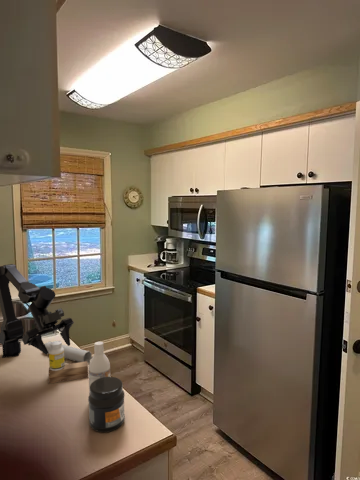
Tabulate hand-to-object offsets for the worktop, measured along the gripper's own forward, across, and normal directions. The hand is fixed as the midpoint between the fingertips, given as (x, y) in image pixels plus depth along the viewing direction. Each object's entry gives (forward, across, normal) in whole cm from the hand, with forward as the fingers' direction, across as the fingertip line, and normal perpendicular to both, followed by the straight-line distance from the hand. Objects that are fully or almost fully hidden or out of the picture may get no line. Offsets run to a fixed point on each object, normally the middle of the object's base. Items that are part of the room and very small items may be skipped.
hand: (58, 349), depth 123 cm
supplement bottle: (+4, 0, +7) cm, 8 cm away
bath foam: (+25, 0, -8) cm, 26 cm away
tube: (-2, +12, +19) cm, 23 cm away
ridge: (+9, +3, +8) cm, 12 cm away
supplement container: (+32, -6, -15) cm, 36 cm away
